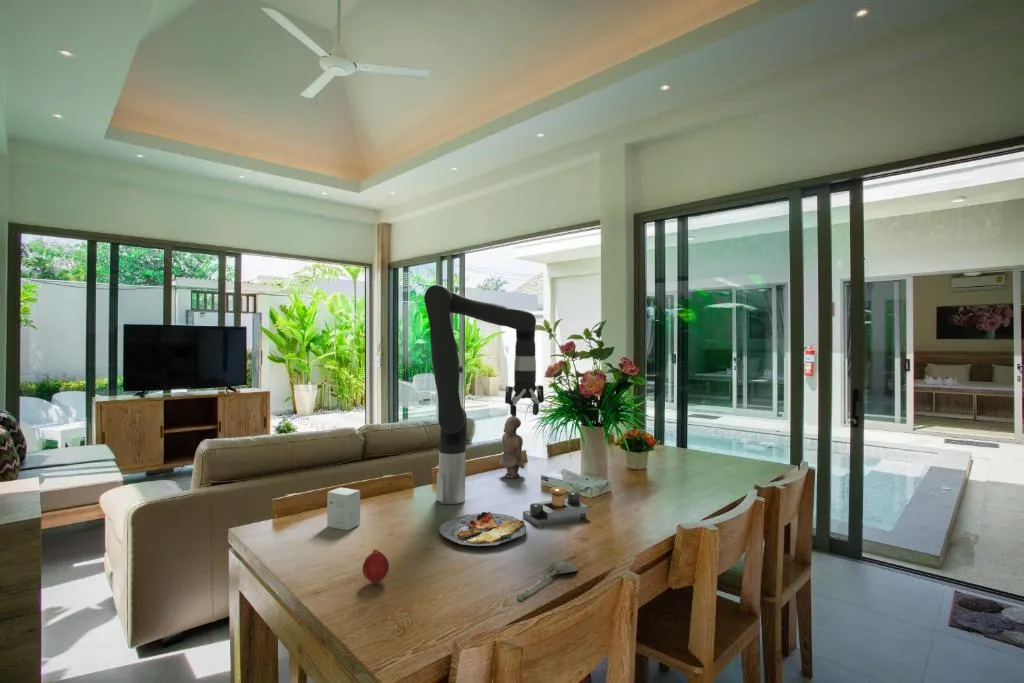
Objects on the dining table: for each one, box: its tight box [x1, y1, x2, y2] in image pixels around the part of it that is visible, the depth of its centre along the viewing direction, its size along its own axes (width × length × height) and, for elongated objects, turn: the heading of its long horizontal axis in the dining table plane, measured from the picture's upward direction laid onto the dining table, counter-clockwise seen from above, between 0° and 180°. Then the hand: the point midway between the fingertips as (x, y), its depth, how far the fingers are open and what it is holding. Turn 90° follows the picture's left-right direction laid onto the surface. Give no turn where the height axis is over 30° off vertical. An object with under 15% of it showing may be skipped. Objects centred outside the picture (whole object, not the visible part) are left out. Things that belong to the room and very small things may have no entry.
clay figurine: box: [498, 415, 525, 479], centre depth 212 cm, size 13×10×25 cm
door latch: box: [522, 491, 589, 528], centre depth 163 cm, size 18×10×7 cm, turn 118°
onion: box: [362, 548, 390, 585], centre depth 118 cm, size 6×6×8 cm
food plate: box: [439, 511, 527, 548], centre depth 149 cm, size 25×23×4 cm
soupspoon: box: [516, 560, 578, 602], centre depth 120 cm, size 22×3×7 cm
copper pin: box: [549, 486, 567, 510], centre depth 163 cm, size 5×5×9 cm
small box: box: [326, 486, 361, 531], centre depth 154 cm, size 8×6×10 cm
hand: (524, 415), depth 179 cm, fingers open, 8 cm apart
